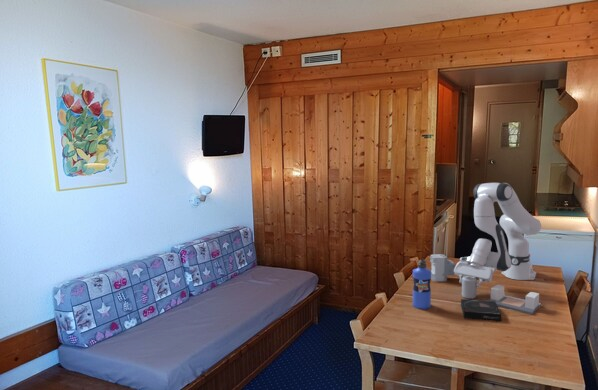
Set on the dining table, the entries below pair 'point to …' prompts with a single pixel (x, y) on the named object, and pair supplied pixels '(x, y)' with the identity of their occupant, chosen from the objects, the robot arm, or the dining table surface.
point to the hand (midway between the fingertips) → (468, 284)
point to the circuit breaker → (441, 267)
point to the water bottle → (421, 286)
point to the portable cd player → (480, 310)
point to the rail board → (515, 300)
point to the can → (469, 287)
